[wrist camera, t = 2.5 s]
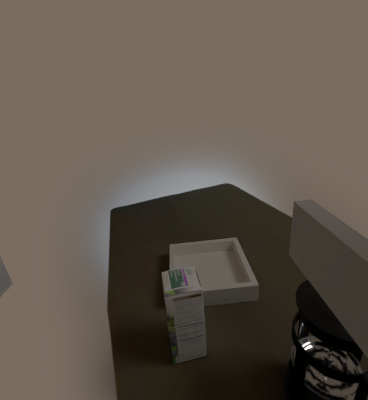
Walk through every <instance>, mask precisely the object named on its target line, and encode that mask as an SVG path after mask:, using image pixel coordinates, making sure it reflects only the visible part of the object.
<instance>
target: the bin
mask: <svg viewBox="0 0 368 400" xmlns="http://www.w3.org/2000/svg"><path fill="white" fill-rule="evenodd" d="M184 267H195V269H196V271H197V274H198V277H199V280H200V283H201V287H202V289H203V302H204V306H211V305H220V304H229V303H239V302H248V301H258V294H259V285H258V282H257V280H256V278H255V276H254V274H253V272H252V270H251V268H250V265H249V263H248V261H247V259H246V257H245V255H244V253H243V250H242V248H241V246H240V244H239V242H238V240H237V238H228V239H218V240H209V241H199V242H190V243H180V244H170V270H173V269H177V268H184Z"/></svg>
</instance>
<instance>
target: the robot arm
mask: <svg viewBox="0 0 368 400" xmlns="http://www.w3.org/2000/svg"><path fill="white" fill-rule="evenodd" d="M289 255H290V257H291V258H292V259H293V261H294V262H295V263H296V265H297V266H298V267H299V268H300V270H301V271H302V272H303V274H304V275H305V276H306V278H307V279H308V280H309V282H310V283H311V284H312V286H313V287H314V288H315V289H316V291H317V292H318V293H319V295H320V296H321V297H322V299H323V300H324V301H325V303H326V304H327V305H328V307H329V308H330V309H331V311H332V312H333V313H334V314H335V316H336V317H337V318H338V320H339V321H340V322H341V324H342V325H343V326H344V328H345V329H346V330H347V332H348V333H349V334H350V336H351V337H352V338H353V339H354V341H355V342H356V343H357V345H358V346H359V347H360V349H361V350H362V351H363V353H364V354H365V355H366V357H367V358H368V239H366V238H365V237H363V236H362V235H361V234H359V233H358V232H357V231H355V230H354V229H352V228H351V227H349V226H348V225H347V224H345V223H344V222H342V221H341V220H340V219H338V218H337V217H335V216H334V215H333V214H331V213H330V212H328V211H327V210H325V209H324V208H323V207H321V206H320V205H318V204H317V203H316V202H314V201H313V200H304V201H295V202H294V208H293V218H292V229H291V239H290V250H289ZM12 284H13V283H12V281H11V279H10V277H9V274H8V273H7V270H6V268H5V266H4V264H3V262H2V259H1V257H0V297H1V296H2V295H3V294H4V293H5V292H6V290H7V289H8V288H9V287H10V286H11V285H12Z"/></svg>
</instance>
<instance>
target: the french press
mask: <svg viewBox="0 0 368 400" xmlns="http://www.w3.org/2000/svg"><path fill="white" fill-rule="evenodd" d="M296 303H297V306H298V308H299V312H298V313H297V314H296V315H295V317H294V320H293V324H292V339H293V342H294V346H293V348H292V352H291V358H290V360H289V363H288V368H287V372H286V375H285V379H284V388H285V394H286V397H287V400H302V396H303V390H304V386H305V387H306V388H307V389H308V390H309V391H311V392H312V393H313V394H315V395H316V396H317V397H319V398H321V399H323V400H366V398H367V395H368V372H365V371H364V369H363V367H362V365H361V364H360V361H361V357H362V354H363V351H362V350H361V349H360V347H359V346H358V345H357V343H356V342H355V341H354V339H353V338H352V337H351V336H350V334H349V333H348V332H347V330H346V329H345V328H344V326H343V325H342V324H341V322H340V321H339V320H338V318H337V317H336V316H335V314H334V313H333V312H332V311H331V309H330V308H329V307H328V305H327V304H326V303H325V301H324V300H323V299H322V297H321V296H320V295H319V293H318V292H317V291H316V289H315V288H314V287H313V286H312V284H311V283H310V282H309V280H307V281H305V282H303V283H302V284H301V285H300V286H299V287H298V289H297V292H296ZM299 319H300V320H299ZM298 320H299V328H298V336H296V334H295V330H294V326H295V324H296V322H297V321H298ZM309 332H310V333H311V334H312V335H314V336H308V333H309Z"/></svg>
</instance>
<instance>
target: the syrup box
mask: <svg viewBox="0 0 368 400" xmlns="http://www.w3.org/2000/svg"><path fill="white" fill-rule="evenodd" d="M162 282H163V291H164V300H165V309H166V317H167V324H168V330H169V336H170V343H171V349H172V355H173V361H174V364H177V363H181V362H185V361H189V360H192V359H196V358H200V357H203V356H207V347H206V332H205V316H204V302H203V289H202V287H201V283H200V280H199V277H198V274H197V271H196V269H195V267H184V268H177V269H173V270H168V271H165V272H162Z"/></svg>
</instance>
